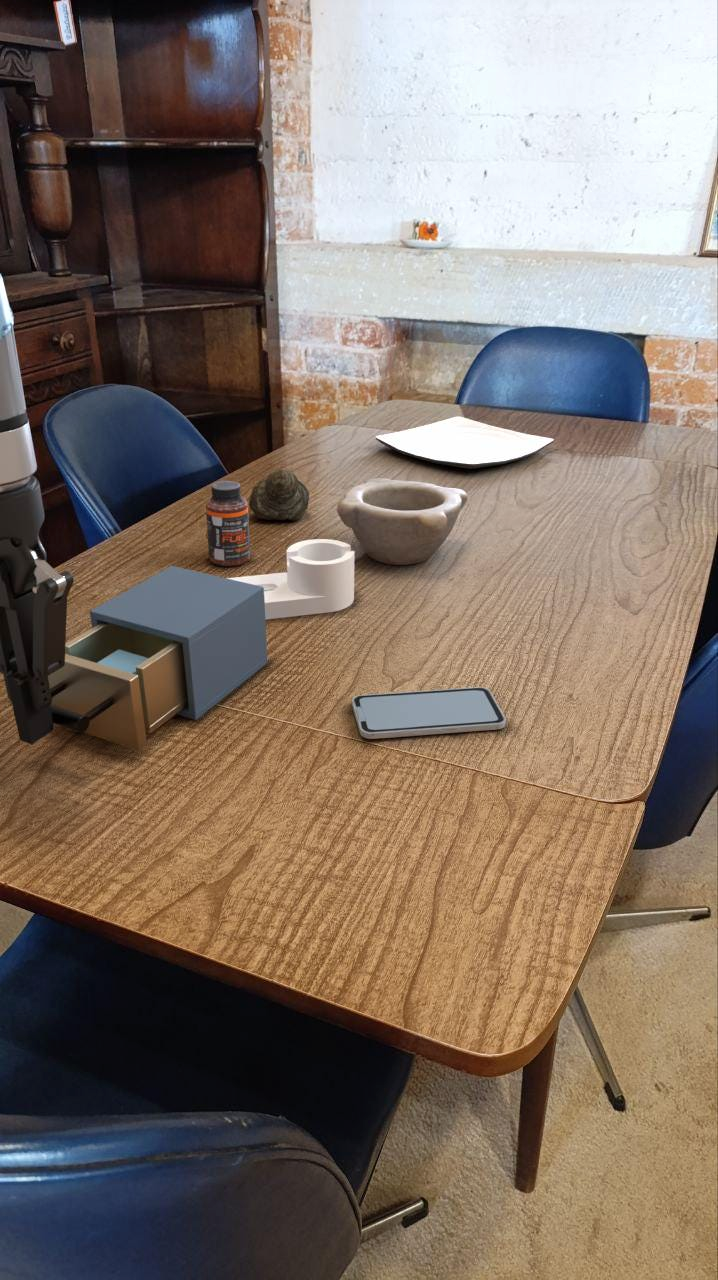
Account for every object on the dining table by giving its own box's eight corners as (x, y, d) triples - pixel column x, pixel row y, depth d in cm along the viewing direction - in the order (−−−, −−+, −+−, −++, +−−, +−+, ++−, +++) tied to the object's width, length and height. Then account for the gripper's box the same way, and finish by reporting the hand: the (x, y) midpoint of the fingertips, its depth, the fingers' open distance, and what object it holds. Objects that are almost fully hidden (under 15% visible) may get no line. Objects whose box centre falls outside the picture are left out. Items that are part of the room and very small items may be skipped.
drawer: (103, 780, 79) (91, 707, 76) (11, 746, 84) (-4, 675, 80) (216, 691, 93) (211, 626, 89) (132, 666, 98) (124, 603, 94)
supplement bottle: (224, 571, 124) (219, 494, 118) (201, 559, 127) (195, 484, 122) (259, 560, 127) (255, 485, 122) (235, 549, 131) (230, 475, 126)
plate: (563, 452, 178) (564, 439, 177) (472, 481, 161) (473, 467, 160) (456, 426, 197) (457, 414, 195) (364, 449, 179) (365, 436, 178)
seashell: (229, 491, 136) (290, 496, 133) (250, 434, 141) (309, 438, 139) (249, 535, 145) (306, 540, 143) (267, 480, 151) (323, 484, 148)
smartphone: (508, 723, 88) (361, 734, 86) (507, 730, 89) (361, 741, 86) (487, 685, 95) (350, 695, 92) (486, 692, 95) (350, 702, 93)
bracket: (344, 581, 121) (344, 536, 118) (361, 608, 113) (362, 560, 110) (198, 597, 116) (194, 550, 113) (206, 626, 108) (202, 576, 105)
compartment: (195, 720, 90) (188, 637, 85) (101, 690, 95) (89, 611, 90) (267, 663, 100) (264, 586, 96) (179, 638, 106) (171, 565, 101)
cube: (93, 707, 88) (87, 668, 86) (123, 686, 92) (118, 649, 90) (128, 718, 86) (123, 679, 84) (157, 697, 90) (153, 659, 88)
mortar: (471, 543, 134) (476, 485, 130) (436, 584, 120) (439, 521, 116) (370, 527, 140) (371, 471, 135) (325, 565, 126) (324, 503, 121)
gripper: (-113, 480, 67) (-48, 735, 78) (9, 507, 62) (60, 777, 73) (-33, 456, 73) (17, 697, 84) (85, 479, 68) (121, 733, 79)
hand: (37, 734), depth 79 cm, fingers closed
